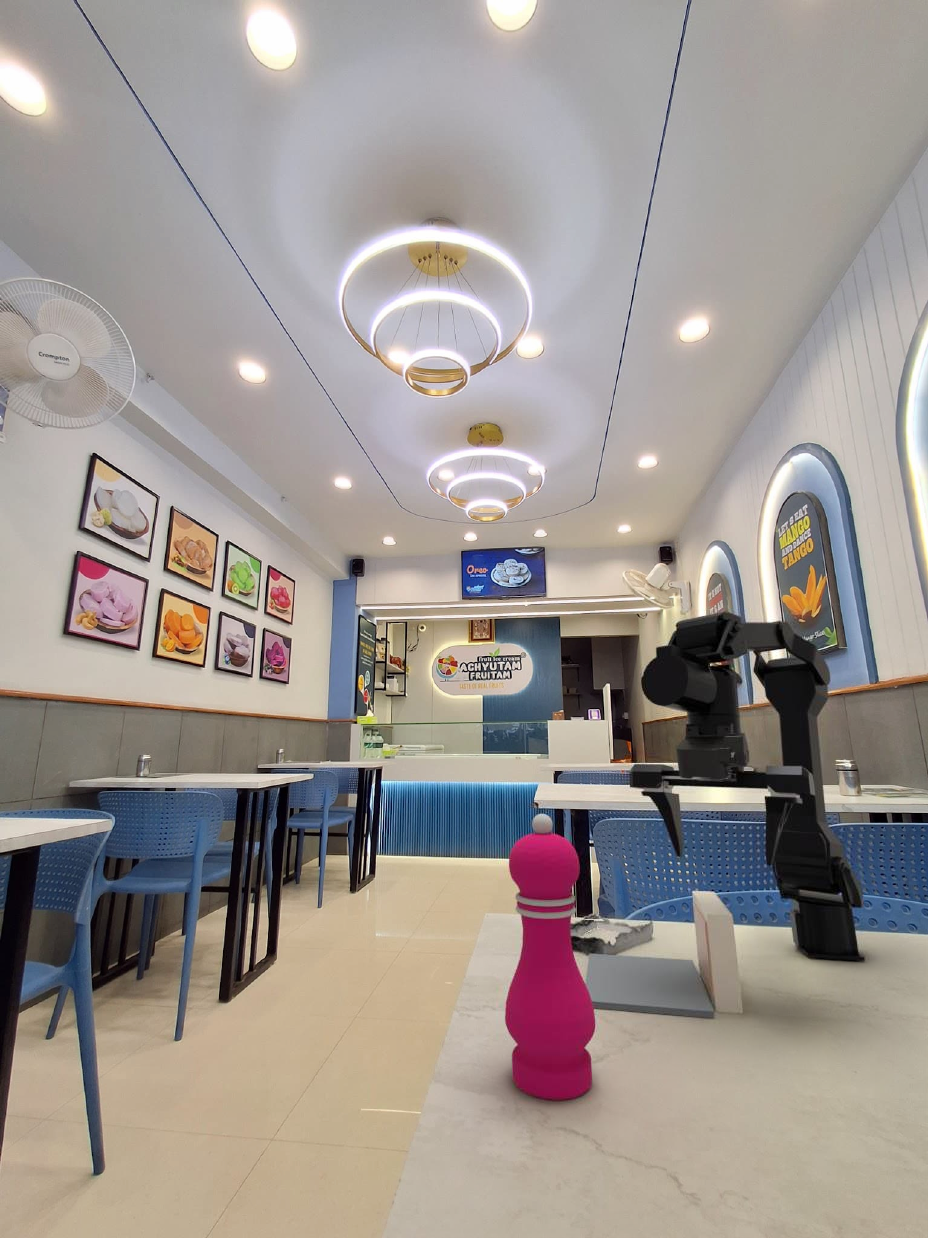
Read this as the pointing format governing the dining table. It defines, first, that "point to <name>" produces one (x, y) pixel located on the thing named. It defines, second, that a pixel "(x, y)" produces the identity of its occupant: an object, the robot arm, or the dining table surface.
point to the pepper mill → (548, 972)
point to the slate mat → (647, 985)
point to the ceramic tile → (717, 951)
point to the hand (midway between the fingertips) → (723, 861)
